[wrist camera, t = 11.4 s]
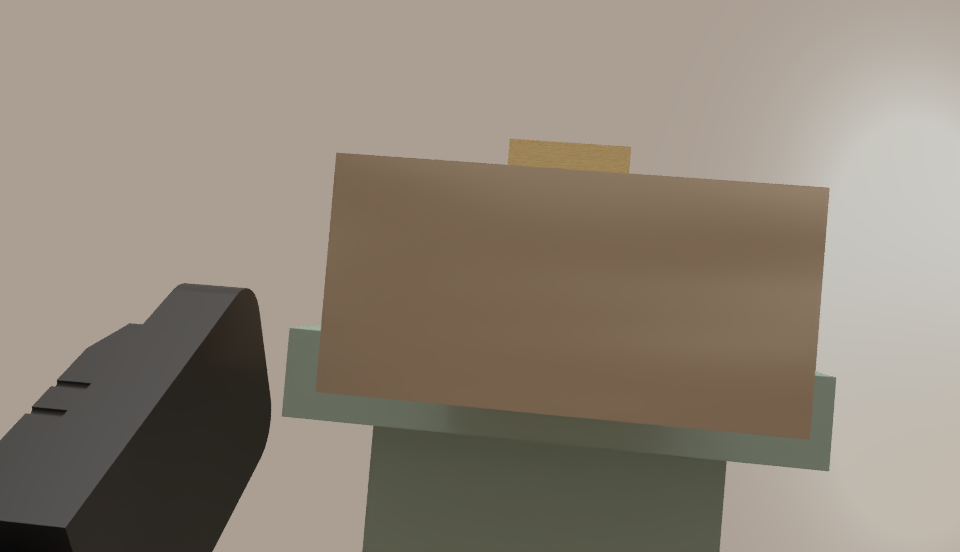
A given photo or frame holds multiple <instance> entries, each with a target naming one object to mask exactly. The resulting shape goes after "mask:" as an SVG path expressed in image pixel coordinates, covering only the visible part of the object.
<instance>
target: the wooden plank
mask: <svg viewBox="0 0 960 552" xmlns="http://www.w3.org/2000/svg"><path fill="white" fill-rule="evenodd" d="M828 200H829V188H824V187H811V186H810V187H809V186H796V185H782V184H769V183H754V182H740V181H725V180H712V179H698V178H684V177H670V176H656V175H641V174H627V173H613V172H599V171H585V170H571V169H557V168H543V167H529V166H515V165H500V164H486V163H470V162H458V161H444V160H430V159H415V158H402V157H386V156H373V155H359V154H345V153H337V154H336V164H335V175H334V187H333V198H332V210H331V221H330V232H329V243H328V255H327V266H326V277H325V289H324V300H323V311H322V324H321V334H320V345H319V356H318V368H317V379H316V391H315V392H321V393H332V394H342V395H352V396H363V397H373V398H383V399H393V400H404V401H414V402H424V403H434V404H445V405H455V406H465V407H476V408H486V409H496V410H506V411H517V412H527V413H537V414H548V415H558V416H568V417H578V418H589V419H599V420H609V421H620V422H630V423H640V424H650V425H661V426H671V427H681V428H691V429H702V430H712V431H722V432H733V433H743V434H753V435H763V436H774V437H784V438H794V439H805V440H810V434H811V421H812V408H813V395H814V382H815V369H816V356H817V342H818V329H819V317H820V316H819V315H820V304H821V291H822V278H823V265H824V252H825V239H826V225H827V213H828Z"/></svg>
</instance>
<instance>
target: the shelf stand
mask: <svg viewBox="0 0 960 552" xmlns="http://www.w3.org/2000/svg"><path fill="white" fill-rule="evenodd" d="M320 334H321V325H312V326H303V327H294V328H290V331H289V342H288V353H287V364H286V376H285V388H284V398H283V410H282V416H283V417H293V418H305V419H314V420H323V421H333V422H343V423H354V424H363V425H373V437H372V448H371V460H370V472H369V483H368V495H367V506H366V518H365V529H364V541H363V552H719V548H720V537H721V523H722V511H723V499H724V485H725V472H726V461H733V462H742V463H753V464H762V465H772V466H782V467H792V468H802V469H812V470H822V471H829V463H830V451H831V437H832V425H833V412H834V398H835V386H836V385H835V384H836V377H833V376H829V375H825V374H822V373H818V372H815V382H814V395H813V408H812V421H811V434H810V440H805V439H794V438H784V437H774V436H763V435H753V434H743V433H733V432H722V431H712V430H702V429H691V428H681V427H671V426H661V425H650V424H640V423H630V422H620V421H609V420H599V419H589V418H578V417H568V416H558V415H548V414H537V413H527V412H517V411H506V410H496V409H486V408H476V407H465V406H455V405H445V404H434V403H424V402H414V401H404V400H393V399H383V398H373V397H363V396H352V395H342V394H332V393H321V392H315V391H316V379H317V368H318V356H319V345H320Z"/></svg>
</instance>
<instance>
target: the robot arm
mask: <svg viewBox="0 0 960 552" xmlns="http://www.w3.org/2000/svg"><path fill="white" fill-rule="evenodd" d="M270 420H271V398H270V390H269V382H268V375H267V367H266V359H265V351H264V344H263V336H262V329H261V320H260V313H259V307H258V302H257V299H256V297H255V294H254V293H253V292H252V291H251V290H250V289H247V288H236V287H224V286H212V285H199V284H187V283H184V284H180V285H178V286H177V287H176V288H175V289H174V290H173V291H172V292H171V293H170V294H169V295H168V297H167V298H166V299H165V300H164V301H163V302H162V303H161V304H160V306H159V307H158V308H157V309H156V310H155V311H154V312H153V314H152V315H151V316H150V317H149V318H148V319H147V320H146V322H145V323H144V324H143V325H142V324H128V325H126V326H125V327H123V328H121V329H119V330H118V331H116V332H114V333H112V334H111V335H109V336H107V337H106V338H104V339H102V340H100V341H99V342H97V343H95V344H94V345H92V346H90V347H88V348H87V349H86V350H85V351H84V352H83V353H82V354H81V355H80V356H79V357H78V358H77V359H76V360H75V361H74V362H73V364H72V365H71V366H70V367H69V368H68V369H67V370H66V371H65V372H64V373H63V374H62V376H60V377H59V378H58V379H57V385H56V387H53V386H51V387H50V388H49V389H48V390H47V391H46V392H45V393H44V394H43V395H42V397H41V398H40V399H39V400H38V401H37V402H36V403H35V404H34V405H33V406H32V412H31V414H25V415H24V416H23V417H22V418H21V419H20V420H19V421H18V422H17V423H16V424H15V425H14V426H13V427H12V429H10V431H9V432H8V433H7V434H6V435H5V436H4V437H3V438H2V439H1V440H0V552H212V551H213V549H214V547H215V546H216V543H217V542H218V540H219V538H220V536H221V534H222V532H223V530H224V528H225V526H226V524H227V522H228V520H229V518H230V516H231V515H232V513H233V511H234V509H235V507H236V505H237V503H238V501H239V499H240V497H241V495H242V493H243V491H244V489H245V487H246V486H247V483H248V482H249V480H250V477H251V476H252V474H253V472H254V470H255V468H256V466H257V464H258V462H259V460H260V458H261V456H262V454H263V451H264V449H265V445H266V442H267V438H268V433H269V428H270Z"/></svg>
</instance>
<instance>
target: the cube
mask: <svg viewBox="0 0 960 552" xmlns="http://www.w3.org/2000/svg"><path fill="white" fill-rule="evenodd" d="M630 151H631V147H623V146H609V145H608V146H607V145H594V144H579V143H563V142H548V141H535V140H520V139H510V146H509V157H508V165H515V166H529V167H543V168H557V169H571V170H585V171H599V172H613V173H627V174H629V164H630Z"/></svg>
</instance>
